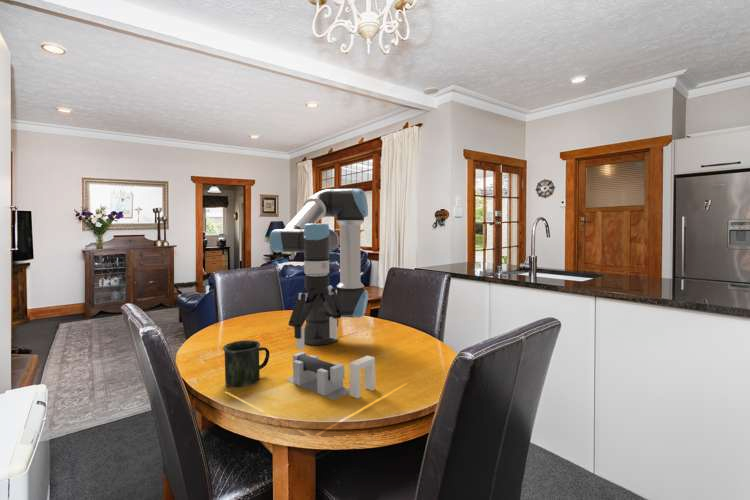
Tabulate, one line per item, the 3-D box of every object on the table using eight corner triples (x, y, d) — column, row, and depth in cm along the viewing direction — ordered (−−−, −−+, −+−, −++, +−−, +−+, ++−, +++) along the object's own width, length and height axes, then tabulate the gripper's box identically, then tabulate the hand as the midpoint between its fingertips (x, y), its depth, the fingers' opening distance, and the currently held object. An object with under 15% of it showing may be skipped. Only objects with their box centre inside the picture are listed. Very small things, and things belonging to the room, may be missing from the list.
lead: (292, 367, 124) (292, 354, 124) (302, 363, 127) (302, 351, 127) (334, 382, 112) (334, 368, 112) (344, 378, 115) (344, 364, 115)
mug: (219, 381, 124) (218, 344, 123) (262, 370, 133) (261, 336, 132) (231, 393, 116) (230, 353, 115) (276, 380, 125) (275, 343, 124)
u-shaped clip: (349, 397, 113) (349, 362, 112) (367, 388, 119) (367, 355, 118) (357, 400, 111) (357, 365, 110) (375, 390, 117) (375, 357, 116)
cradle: (285, 381, 124) (284, 358, 123) (304, 374, 130) (304, 352, 129) (333, 402, 110) (333, 375, 109) (352, 392, 116) (352, 367, 115)
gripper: (292, 280, 105) (293, 356, 107) (353, 271, 125) (354, 336, 126) (275, 277, 110) (276, 350, 111) (337, 269, 129) (337, 332, 131)
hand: (317, 343), depth 119 cm, fingers open, 13 cm apart
